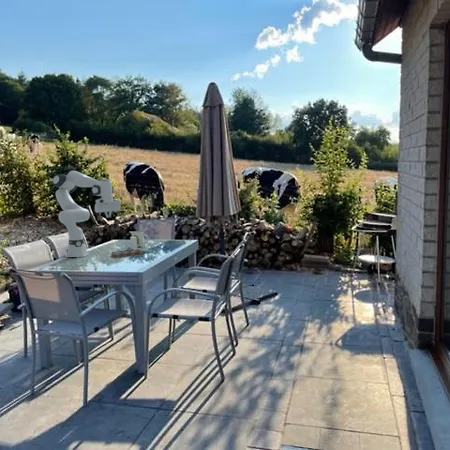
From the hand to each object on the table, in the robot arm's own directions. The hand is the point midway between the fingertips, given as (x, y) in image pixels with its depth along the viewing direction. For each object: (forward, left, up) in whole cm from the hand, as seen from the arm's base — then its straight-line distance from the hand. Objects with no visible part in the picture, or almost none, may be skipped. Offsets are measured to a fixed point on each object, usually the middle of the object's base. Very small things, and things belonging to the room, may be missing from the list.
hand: (108, 217), depth 373 cm
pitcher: (-32, +38, -32) cm, 59 cm away
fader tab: (+1, +19, -30) cm, 36 cm away
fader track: (+1, +14, -32) cm, 35 cm away
